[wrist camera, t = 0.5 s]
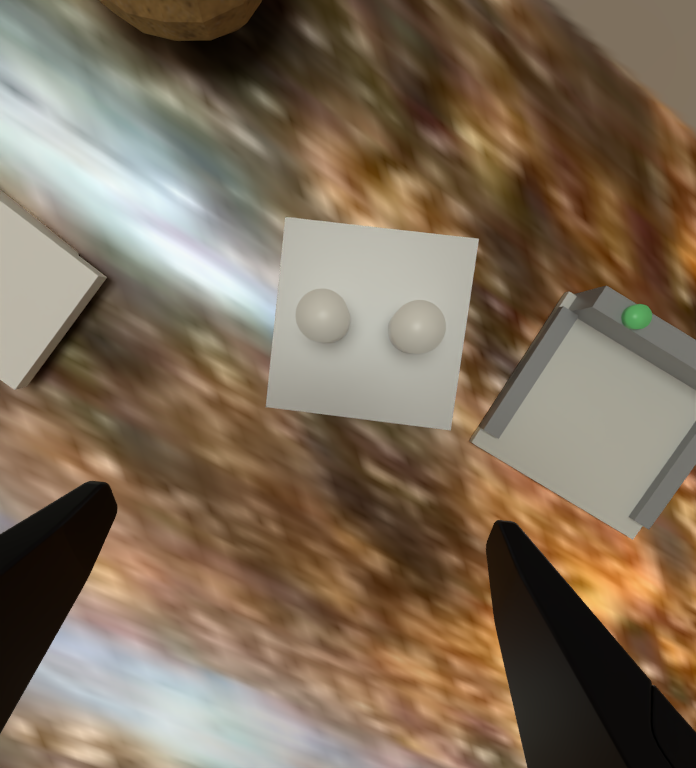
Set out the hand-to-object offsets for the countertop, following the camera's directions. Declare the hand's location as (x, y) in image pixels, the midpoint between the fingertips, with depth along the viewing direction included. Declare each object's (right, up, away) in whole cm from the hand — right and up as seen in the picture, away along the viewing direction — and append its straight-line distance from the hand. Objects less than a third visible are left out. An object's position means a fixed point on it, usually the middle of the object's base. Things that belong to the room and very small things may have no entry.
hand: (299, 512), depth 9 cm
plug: (+2, +6, +14) cm, 15 cm away
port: (+16, +1, +14) cm, 21 cm away
